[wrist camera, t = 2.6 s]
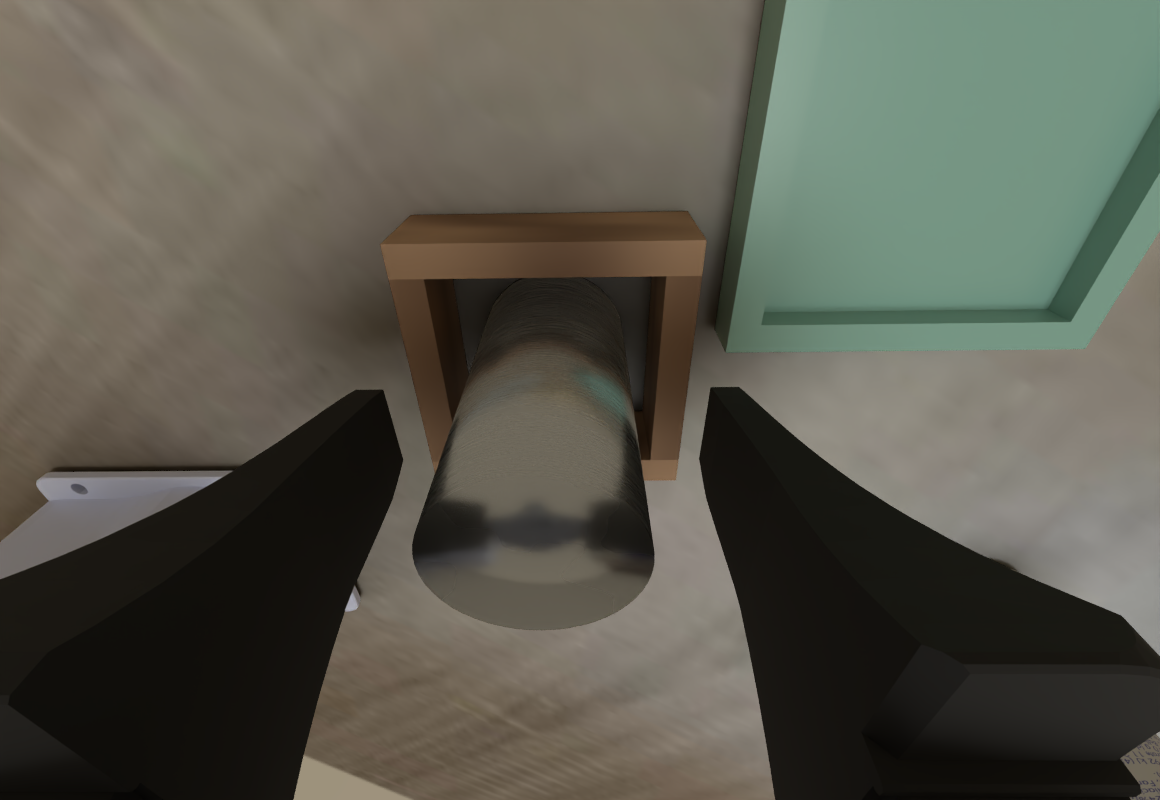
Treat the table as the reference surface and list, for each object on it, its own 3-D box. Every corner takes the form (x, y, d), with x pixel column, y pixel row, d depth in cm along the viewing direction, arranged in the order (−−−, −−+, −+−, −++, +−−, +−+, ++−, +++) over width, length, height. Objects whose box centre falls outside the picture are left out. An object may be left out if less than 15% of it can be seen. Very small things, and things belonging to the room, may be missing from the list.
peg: (495, 393, 16) (436, 631, 10) (478, 272, 14) (386, 477, 7) (620, 391, 16) (647, 629, 10) (624, 270, 14) (663, 475, 7)
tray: (714, 329, 15) (725, 352, 14) (786, -141, 9) (815, -167, 8) (1045, 325, 15) (1084, 348, 13) (1315, -152, 9) (1420, -182, 8)
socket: (454, 431, 17) (437, 482, 15) (410, 214, 13) (379, 244, 11) (664, 430, 17) (675, 480, 15) (687, 211, 13) (706, 240, 11)
